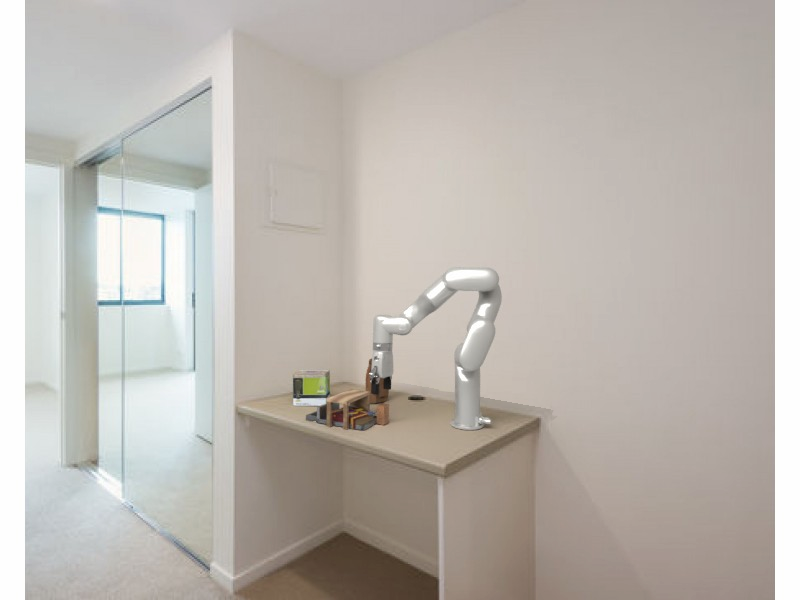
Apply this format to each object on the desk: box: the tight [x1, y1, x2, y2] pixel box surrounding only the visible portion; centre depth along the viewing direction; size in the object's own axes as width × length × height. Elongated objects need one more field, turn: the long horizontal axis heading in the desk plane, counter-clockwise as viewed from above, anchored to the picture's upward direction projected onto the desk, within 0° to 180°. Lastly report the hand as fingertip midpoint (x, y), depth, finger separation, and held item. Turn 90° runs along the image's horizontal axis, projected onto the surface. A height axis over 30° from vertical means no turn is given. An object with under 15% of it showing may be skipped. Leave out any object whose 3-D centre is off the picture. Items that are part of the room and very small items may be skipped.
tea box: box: [292, 369, 331, 407], centre depth 192 cm, size 15×10×15 cm, turn 89°
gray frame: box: [305, 410, 317, 423], centre depth 170 cm, size 6×11×2 cm, turn 154°
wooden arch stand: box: [326, 389, 371, 431], centre depth 164 cm, size 9×17×11 cm, turn 154°
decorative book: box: [332, 406, 377, 430], centre depth 164 cm, size 11×16×5 cm
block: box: [365, 358, 390, 404], centre depth 196 cm, size 11×8×20 cm
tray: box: [316, 402, 390, 431], centre depth 163 cm, size 24×14×7 cm, turn 64°
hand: (381, 391), depth 162 cm, fingers open, 9 cm apart
